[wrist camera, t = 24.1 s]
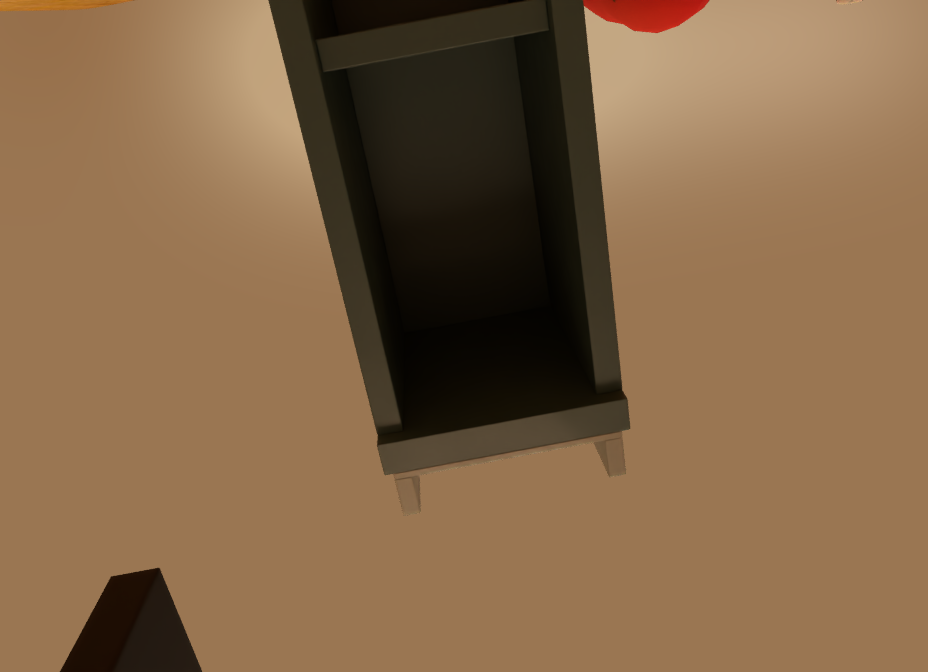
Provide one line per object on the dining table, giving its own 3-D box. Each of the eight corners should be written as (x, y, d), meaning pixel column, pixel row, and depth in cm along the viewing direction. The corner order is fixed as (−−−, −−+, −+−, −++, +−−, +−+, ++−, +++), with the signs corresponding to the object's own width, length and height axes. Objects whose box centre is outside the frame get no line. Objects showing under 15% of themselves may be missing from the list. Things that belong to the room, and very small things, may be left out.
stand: (228, -142, 31) (395, 517, 43) (568, -206, 31) (634, 473, 43) (290, -85, 47) (397, 381, 60) (511, -126, 47) (571, 348, 60)
